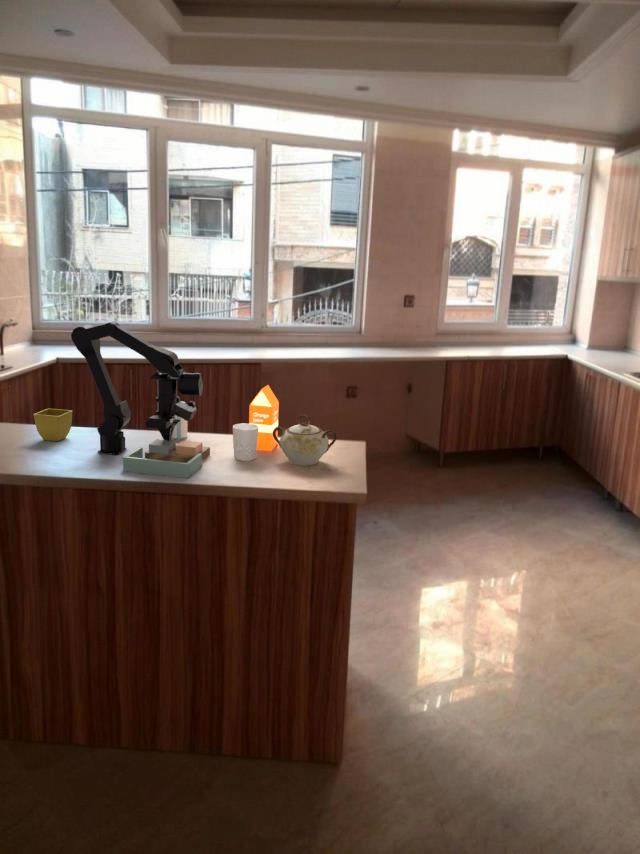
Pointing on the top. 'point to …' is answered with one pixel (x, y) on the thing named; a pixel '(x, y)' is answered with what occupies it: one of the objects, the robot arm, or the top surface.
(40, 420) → the flower pot
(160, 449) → the slate tile
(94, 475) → the top surface
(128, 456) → the box
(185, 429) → the can
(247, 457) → the white cup
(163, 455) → the walnut board
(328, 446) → the sugar bowl
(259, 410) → the orange juice
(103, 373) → the robot arm
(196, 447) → the terracotta tile
